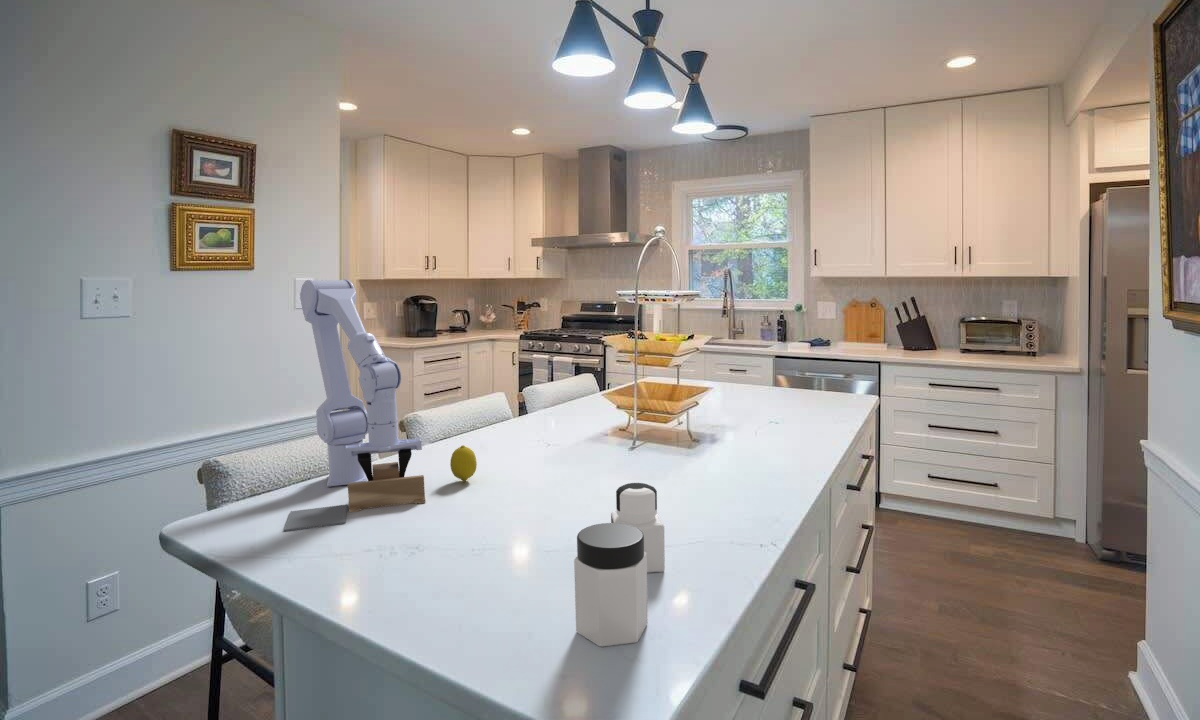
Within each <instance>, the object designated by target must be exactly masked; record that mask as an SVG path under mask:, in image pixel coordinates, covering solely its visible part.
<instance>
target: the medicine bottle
mask: <svg viewBox="0 0 1200 720" xmlns="http://www.w3.org/2000/svg"><path fill="white" fill-rule="evenodd" d="M657 493H658V492H657V489H656V488H655V487H654V486H652V485H650V484H647V483H642V482H629V483H625V484H623V485H621V486H619V487H618V488H617V489H616V492H615V494H616V495H615V496H616V497H615V498H616V502H615V503H616V505H615V506H616V511H615V510H613V511H611V512H610V523H621V524H627V525H631V526H634V527H636V528H638V529H639V530H641V531H642V533H643V535H644V551H645V552H646V553H647V574H648V573H663V572H665V569H666V566H665V557H666V556H665V553H666V552H665V526H664V523H663V521H662V519H661V517H660V515H659V512H658V496H657V495H658V494H657Z"/></svg>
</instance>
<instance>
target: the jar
mask: <svg viewBox="0 0 1200 720" xmlns="http://www.w3.org/2000/svg"><path fill="white" fill-rule="evenodd" d="M576 550H577V551H576V552H577V554H576V557H575V558H574V560H573V563H574V598H575V599H574V601H575V604H574V605H575V631H576V633H577V634H579V635H580V636H582V637H583V638H586V639H587V640H588V639H589V640H588V641H590V642H592V643H593V644H595V645H597V646H598V647H600V648H602V647H603V648H604V647H610V646H619V645H626V644H635V643H638V641H639V640H640V638H641V637H642V634H643V633H644V631H645V628H646V627H647V625H648V617H649V615H648V573H647V553H646V552H645V551H644V535H643V533H642V531H641V530H639V529H638V528H636V527H634V526H631V525H627V524H621V523H611V522H605V523H596V524H592V525H589V526H586V527H585V528H582V529H581V530H580V531H578V533H577V535H576Z"/></svg>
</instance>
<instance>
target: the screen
mask: <svg viewBox="0 0 1200 720" xmlns="http://www.w3.org/2000/svg"><path fill="white" fill-rule="evenodd" d="M425 492H426V489H425V476H424V474H419V475H413V476H410V475H409V476H404V477H401V478H392V479H383V480H374V481H368V480H367V481H365V482H357V483H348V485H347V496H348V510H349V512H348V513H353V512H361V510H365V509H373V508H374V507H375V508H381V507H382V506H383V507H391V506H399V505H405V504H412V503H414V502H415V503H414V504H415V505H417V503H419V504H424V502H426V495H425Z"/></svg>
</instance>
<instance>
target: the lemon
mask: <svg viewBox="0 0 1200 720" xmlns="http://www.w3.org/2000/svg"><path fill="white" fill-rule="evenodd" d="M449 463H450V464H449V465H450V470H451V472H452V474H453V476H454V477H455V478H457V479H458V480H461V481H462V482H464V481H465V482H467V480H468V479H470V478H471V477H472V476H474V474H475V473H476V470H477V467H478V466H477V465H478V464H477V463H478V462H477V458H476V455H475V452H474V451H473V449H471V448H469V447H467V446H465V445H461V446H459V447H457V448H456V449H455V450H454V451H453V452H452V454H451V457H450V462H449Z"/></svg>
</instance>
